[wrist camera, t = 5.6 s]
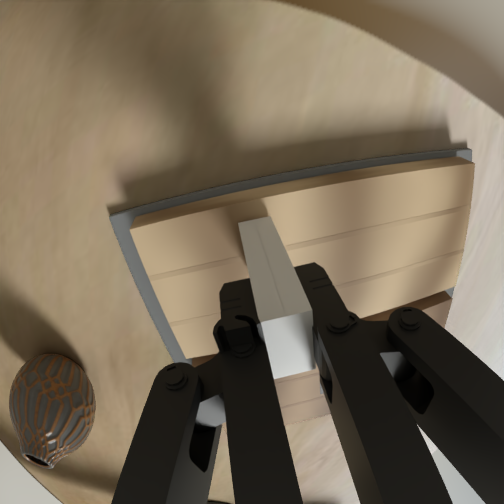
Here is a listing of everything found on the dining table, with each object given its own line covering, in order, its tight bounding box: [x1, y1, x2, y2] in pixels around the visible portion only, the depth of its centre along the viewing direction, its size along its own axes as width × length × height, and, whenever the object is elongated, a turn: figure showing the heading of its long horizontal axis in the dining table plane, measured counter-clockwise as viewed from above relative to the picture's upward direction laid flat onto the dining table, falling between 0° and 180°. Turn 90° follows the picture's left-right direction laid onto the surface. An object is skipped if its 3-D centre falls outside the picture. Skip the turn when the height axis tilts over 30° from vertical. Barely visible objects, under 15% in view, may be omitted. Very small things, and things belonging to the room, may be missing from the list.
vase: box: [9, 354, 96, 469], centre depth 16 cm, size 7×7×9 cm
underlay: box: [109, 148, 472, 365], centre depth 20 cm, size 22×21×1 cm
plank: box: [129, 156, 475, 359], centre depth 17 cm, size 19×9×2 cm, turn 100°
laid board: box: [192, 290, 452, 433], centre depth 22 cm, size 19×10×2 cm, turn 100°
